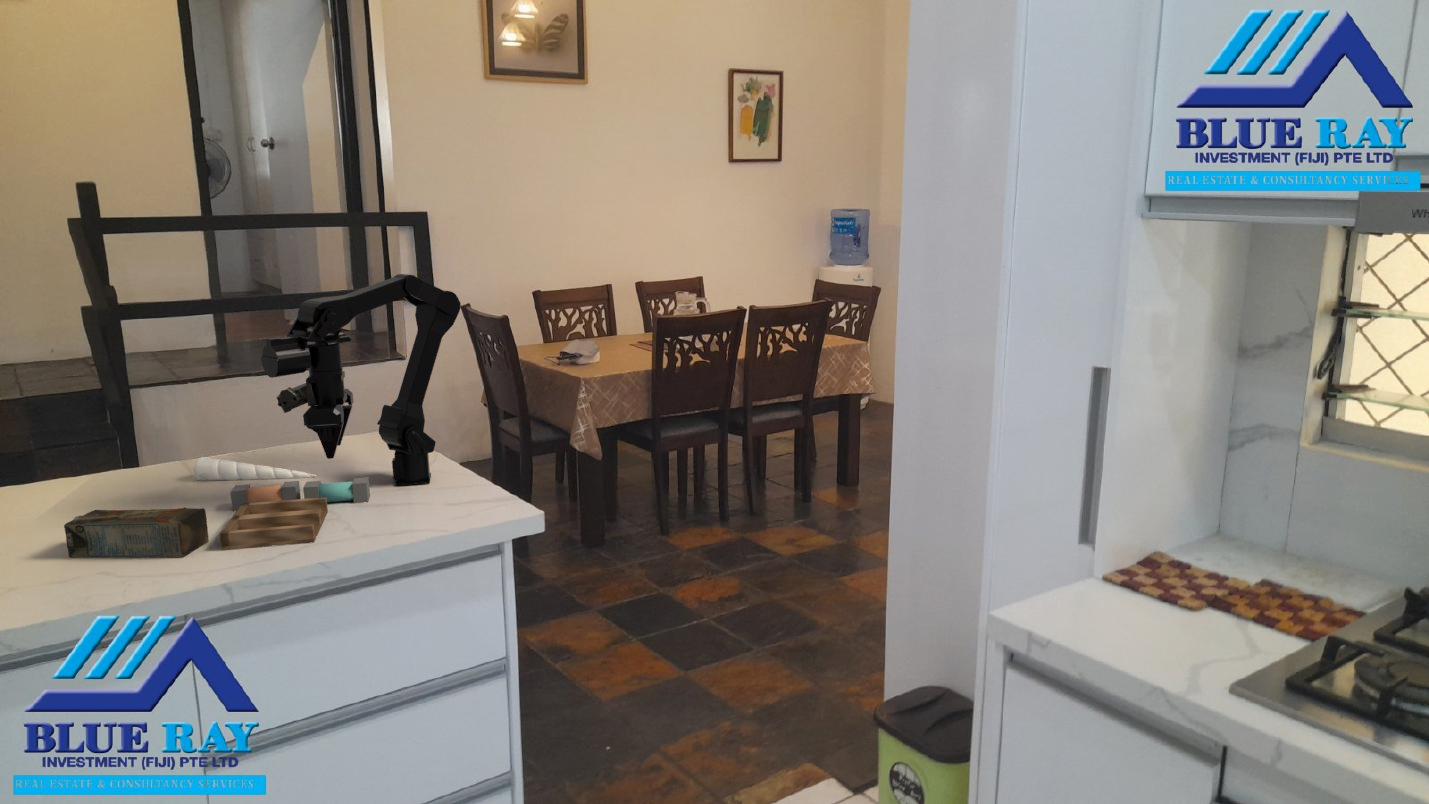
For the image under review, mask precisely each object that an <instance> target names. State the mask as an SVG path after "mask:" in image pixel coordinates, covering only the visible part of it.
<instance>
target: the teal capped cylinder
mask: <svg viewBox="0 0 1429 804" xmlns="http://www.w3.org/2000/svg"><path fill="white" fill-rule="evenodd" d="M302 487H303V489H302V490H303V499H309V498H322V497H327V503H333V502H346V501H347V502H348V501H353V504H362V503H364V502H366V503H369V501H370V498H371V492H370V491H371V490H370V489H371V488H370V478H369V477H368V476H367V477H354V479H353V481H343V482H341V481H340V482H327V483H322V481H321V480H311V481H306V482H305V484H304V485H303V486H302Z"/></svg>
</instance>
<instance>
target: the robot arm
mask: <svg viewBox="0 0 1429 804" xmlns="http://www.w3.org/2000/svg"><path fill="white" fill-rule="evenodd" d="M402 299H405V300H406V301H407V303H409V304H411V305H412V306H414V307H415V314H414V315H415V322H416V327H417V331H416V334H415V335H416V336H415V339H414V342H413V345H412V349H411V352H410V356H409V359H408V362H407V365H406V368H405V372H404V376H403V377H402V381H401V385H400V389H399V393H398V396H397V398H396V399H395V401H394V402H393V403H392V404H391V405H388V404H384V405H383V407H382V408H381V413H380V414H381V415H380V418H379V420H378V422H377V423H376V424H377V425H378V435H379V436H380V438H381V440H383V442H384V443H385V444H386V446H387V448H388V450H389V451H394V453H393V454H394V457H393V458H392V461H391V464H392V477H393V481H395V486H397V487H398V486H399V487H401V486H410V485H414V486H415V485H425V484H427V485H428V484H430V483H431V479H432V472H431V471H430V470H431V469H430V456H429V454H430V453H433V452H434V451H435V447H436V441H435V440H434V439H433V438H432V437H431V436H429V434H427V433H426V432H425V431H424V430H425V422H426V420H425V413H424V408H423V405H424V400H425V397H426V394H427V391H428V388H429V383H430V380H431V377H432V374H433V370H434V367H435V363H436V360H437V357H438V353H439V351H440V346H441V343H442V340H443V337H444V336H445V334H447V332H448V331H449V330H450V329H451V328H452V327H453V326H454V324H455V322H456V320H457V318H458V315H459V313H460V311H461V307H462V305H461V301H460V300H459V297H458V295H457V294H456V293H455V292H453V291H450V290H443V289H441V288H439V287H437V286H435V285H432V284H430V283H427V282H426V281H424V280H422V279H420V278H419V277H417V276H416V275H414V274H406V273H398V274H396V275H395V276H393V277H391V278H388V279H385V280H382V281H379V282H376V283H374V284H370V285H368V286H365V287H362V288H359V289H356V290H354V291H351V292H348V293H345V294H342V295H341V294H340V295H336V296H335V295H333V296H323V297H318V298H311V299H306V300H304V301H302V303H301V304H299V306H300V307H299V308H298V311H297V317H296V319H295V320H294V322H293V324H292V325H291V327H290V329H289V331H288V333H287V334H286V336H285V337H268V338H265V346H263V349H262V355H261V356H260V361H261V365H262V369H263V370H264V373H265V374H266V375H267V376H268V377H269V378H279V377H284V376H290V375H291V376H292V375H299V374H304V373H305V372H306V371H307V369H308V376H307V378H306V379H305V383H302V384H299V385H297V386H294V387H292V388H291V386H290V387H287V388H286V389H282V390H280V391H279V392H280V393H279V394H278V395H277V396H276V399H277V406H278V407H280V408H281V409H282V410H283V413H285V414H287V413H288V412H291V411H292V410H294V409H296V408H298V407H301V406H304V405H306V404H307V407H309V408H307V410H306V411H305V412H304V413H303V415H302V417H303V425H304V427H305V426H306V428H307V429H310V430H312V431H313V432H314V433H316V434H317V436H318V439H319V440H320V444H321V445H322V446H321V447H322V449H323V451H324V454H325V456H326V458H327V459H328V460H329V459H330V460H331V459H334V458H335V455H336V450H337V447H338V446H341V444H342V441H343V438H344V435H345V431H346V428H347V425H348V422H349V419H350V415H351V413H352V410H353V404H354V394H353V392H352V391H351V390H350V389H349V388H345V382H344V379H345V378H346V372H345V371H344V370H343V361H342V352H341V351H342V349H341V344H344V343H350V342H351V341H352V338H351V337H350V336H348V335H346V334H345V332H344V331H343V330H342V328H343V327H345V326H348V325H349V324H350V323H351V321H353V320H354V319H355V318H356V317H358V316H359V315H361V314H364V313H367V312H369V311H372V310H375V309H377V308H380V307H383V306H385V305H388V304H391V303H393V302H396V301H398V300H402ZM345 404H348V405H345Z"/></svg>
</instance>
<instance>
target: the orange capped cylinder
mask: <svg viewBox="0 0 1429 804" xmlns="http://www.w3.org/2000/svg"><path fill="white" fill-rule="evenodd" d="M300 486H301V485H300V481H299V480H294V481H293V480H292V481H284V482H283V483H282V484H278V485H267V486H266V485H265V486H253V487H252V486H251V484H250V483H247V484H235V485H234V486H233V488H232V489H231V490H230V500H231V505H232V507H231V509H232V512H237V510H238V509H239V508H240V506H241V505H242V504H243V503H256V502H269V501H283V500H296V499H302V497H301V487H300Z"/></svg>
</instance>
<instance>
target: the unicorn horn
mask: <svg viewBox="0 0 1429 804" xmlns="http://www.w3.org/2000/svg"><path fill="white" fill-rule="evenodd" d="M193 476H194V479H195V480H196V481H198V482H205V481H207V482H208V481H211V482H212V481H241V479H242V480H243V481H249V480H250V481H251V480H255V479H256V480H277V479H279V480H281V479H282V480H284V479H285V480H286V479H287V478H288V479H305V478H306V479H307V478H315V477H317V475H316V474H313V473H309V472H308V473H307V472H305V471H299V470H294V469H291V470H290V469H288V468H283V467H282V468H281V467H274V466H273V467H272V466H269V465H268V466H267V465H260V464H255V465H254V464H253V463H247V462H240V461H238V462H236V461H233V460H227V459H218V458H211V457H205V456H201V457H199V458H197V459H196V460H195V463H194V466H193ZM276 478H277V479H276Z"/></svg>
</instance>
